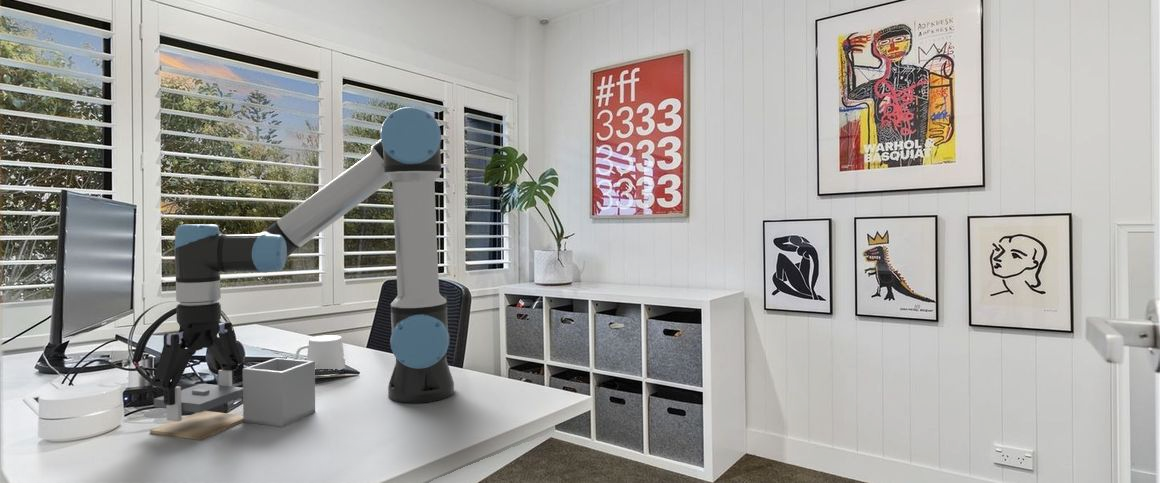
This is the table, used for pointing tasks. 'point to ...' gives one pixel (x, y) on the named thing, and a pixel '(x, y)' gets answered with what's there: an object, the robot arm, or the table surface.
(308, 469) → the table surface
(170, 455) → the table surface
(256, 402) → the storage cube
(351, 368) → the table surface
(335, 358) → the mug
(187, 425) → the wooden square board
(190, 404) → the lid
